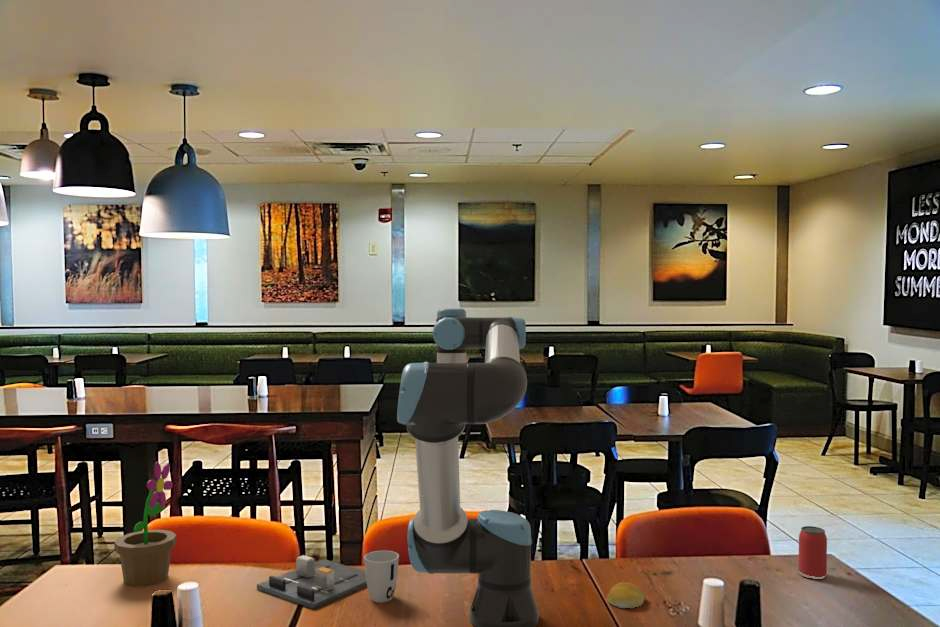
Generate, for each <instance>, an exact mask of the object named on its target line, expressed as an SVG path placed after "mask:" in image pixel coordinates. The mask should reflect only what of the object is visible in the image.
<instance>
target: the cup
mask: <svg viewBox="0 0 940 627" xmlns="http://www.w3.org/2000/svg"><path fill="white" fill-rule="evenodd" d="M363 558H364V559H363V560H364V571H365V575H366V581H367V586H366V587H367V590H368V595H369V597H370V600H371V601H372V602H374V603H387V602H390V601H392V600H393V598H394V595H395V591H396V587H397V583H398V582H397V581H398V577H399V576H398V574H399V562H400V561H399V560H400V559H399V558H400V554H399V553H397V552H396V551H393V550H375V551H371V552H370V551H369V552H368V553H366V554H365V555H364V556H363Z"/></svg>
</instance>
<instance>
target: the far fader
mask: <svg viewBox="0 0 940 627" xmlns="http://www.w3.org/2000/svg"><path fill="white" fill-rule="evenodd" d="M295 561H296V562H295V563H296V564H295V566H296V567H295V568H296V569H295V570H296V574H297V575H300V576H303V577H306V578H308V577H311V576H313V575H315V564H314V563H315V558H313V557H311V556H309V555H304V554H302V555H300V556H298V557H297V558H296V560H295Z"/></svg>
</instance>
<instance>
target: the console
mask: <svg viewBox="0 0 940 627" xmlns="http://www.w3.org/2000/svg"><path fill="white" fill-rule="evenodd" d="M314 564H315V570H316V569H318V568H321V567H325V568H328V569H331V570H333V571H334V588H332V589H330V590H328V591H326V590H323V589H320V588H317V587H315V575H313V576H311V577H308V578H306V577H303V576H300V575H297V574H296V569H294V570H292V571H289V572H286V573H284V574H281V575H279V576H274V575H269V576H268V579H267V580H265V581H263V582H260V583H257V584H256V590H257V589H258V591H260V590H261V592H263V593H265V594H269V595H271V596H275V597H277V598H281V599H283V600H286V601H289V602H291V603H294V604H296V605H299V606H303V607H305V608H308V609H311V610H316V609H318V608H321V607H323V606H326V605H327V604H329V603H332V602H333V601H334V602H335V601H336V600H339V599H341V598H343V597H345V596H347V595H350V594H351V593H355V592H356V591H358V590H362V589H363V588H366V587H367V581H366V575H365V570H362V569H359V568H355V567H352V566H350V565H344V564H343V563H339V562H336V561H332V560H329V559H325V558H323V559H321V560H318V561H314Z"/></svg>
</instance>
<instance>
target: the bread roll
mask: <svg viewBox="0 0 940 627" xmlns="http://www.w3.org/2000/svg"><path fill="white" fill-rule="evenodd" d="M606 601H607V602H608V603H609V604H610V605H612V606H615V607H616V606H617V607H616V608H620V609H625V608H630V609H636V608H635V607H637V608H640V607H641V606H642V605H643V604H644V602H645V595H644V593H643V591H642V589H641V588H640V587H639V586H637V585H636V584H634V583H631V582H627V581H622V582H619V583H616V584H614V585H613V586H612V587H611V588H610V590H609V592H608V594H607V595H606ZM639 606H640V607H639Z"/></svg>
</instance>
